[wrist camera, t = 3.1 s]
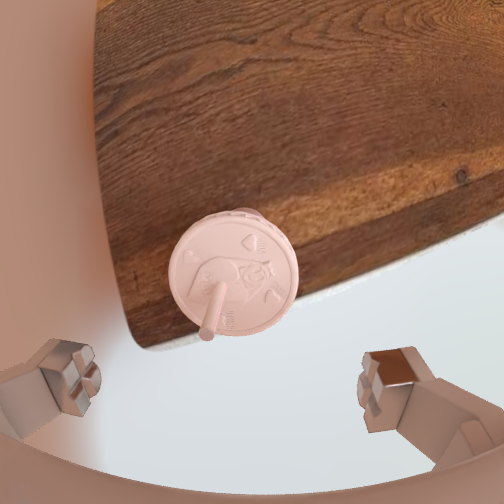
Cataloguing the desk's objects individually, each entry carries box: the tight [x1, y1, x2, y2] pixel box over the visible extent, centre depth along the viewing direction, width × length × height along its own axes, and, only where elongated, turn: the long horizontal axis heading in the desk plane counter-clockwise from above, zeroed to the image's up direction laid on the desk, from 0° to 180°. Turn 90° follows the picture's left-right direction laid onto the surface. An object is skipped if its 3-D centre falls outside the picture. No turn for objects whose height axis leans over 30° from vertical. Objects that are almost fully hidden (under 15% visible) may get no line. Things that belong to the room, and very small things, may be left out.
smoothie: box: [168, 207, 298, 341], centre depth 17 cm, size 6×6×14 cm
